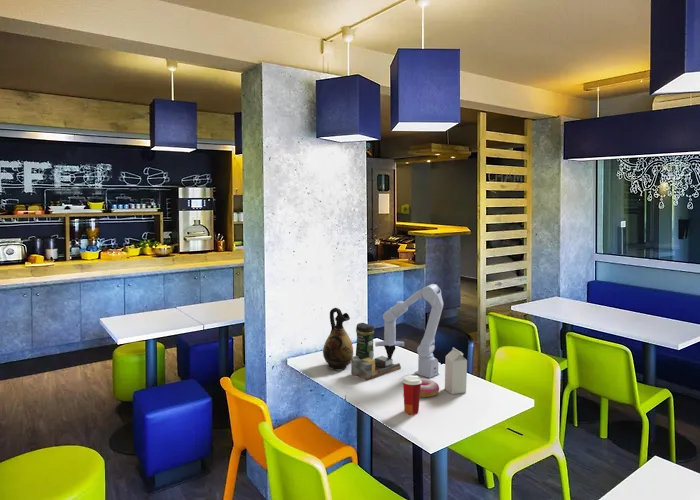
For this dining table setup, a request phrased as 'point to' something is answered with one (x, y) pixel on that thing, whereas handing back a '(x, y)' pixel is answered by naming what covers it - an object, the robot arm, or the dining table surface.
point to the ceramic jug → (338, 343)
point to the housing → (370, 362)
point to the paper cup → (411, 394)
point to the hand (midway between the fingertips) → (389, 359)
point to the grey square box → (383, 361)
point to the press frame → (370, 369)
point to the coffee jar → (364, 341)
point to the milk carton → (455, 372)
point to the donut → (428, 388)
